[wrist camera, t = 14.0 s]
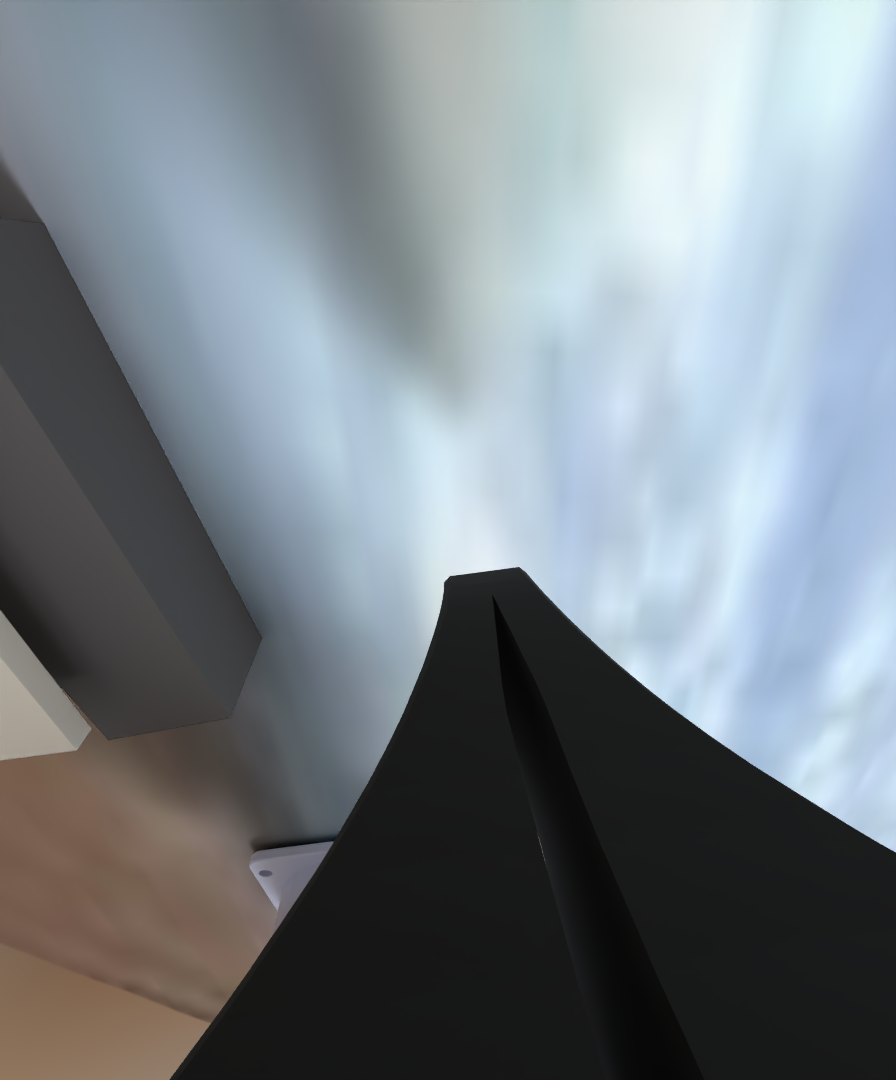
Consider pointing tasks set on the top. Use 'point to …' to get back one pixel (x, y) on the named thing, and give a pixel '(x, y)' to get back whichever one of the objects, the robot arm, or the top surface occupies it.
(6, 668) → the side clip
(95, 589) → the block
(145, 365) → the top surface
